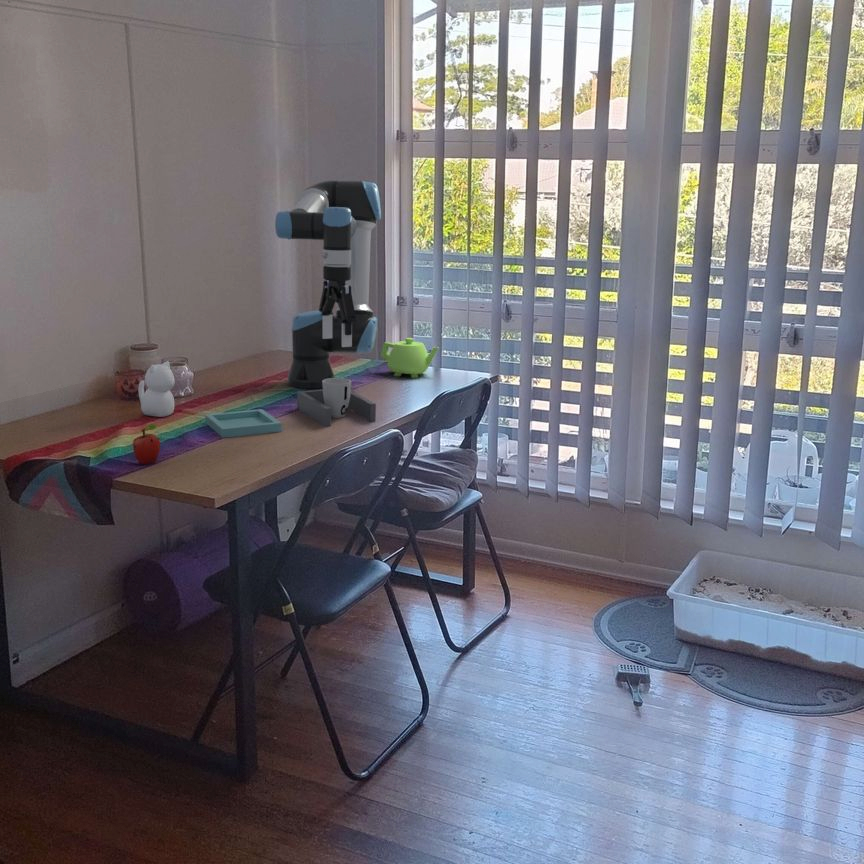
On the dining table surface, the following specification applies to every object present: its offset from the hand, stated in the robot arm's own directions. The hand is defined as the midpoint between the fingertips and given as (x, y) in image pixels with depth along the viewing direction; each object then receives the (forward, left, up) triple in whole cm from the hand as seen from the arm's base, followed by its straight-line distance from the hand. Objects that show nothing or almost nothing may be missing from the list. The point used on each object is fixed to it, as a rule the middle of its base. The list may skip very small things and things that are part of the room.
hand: (336, 342), depth 268 cm
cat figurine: (-20, -46, -21) cm, 54 cm away
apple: (+24, -58, -21) cm, 66 cm away
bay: (0, 0, -21) cm, 21 cm away
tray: (+2, -28, -21) cm, 35 cm away
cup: (0, 0, -21) cm, 21 cm away
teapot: (-41, +44, -21) cm, 64 cm away
